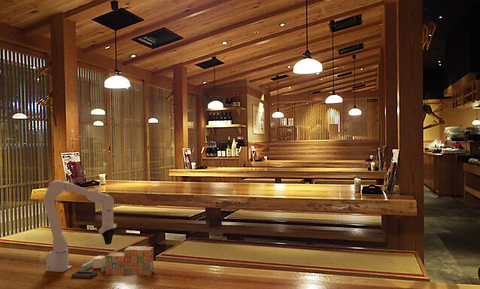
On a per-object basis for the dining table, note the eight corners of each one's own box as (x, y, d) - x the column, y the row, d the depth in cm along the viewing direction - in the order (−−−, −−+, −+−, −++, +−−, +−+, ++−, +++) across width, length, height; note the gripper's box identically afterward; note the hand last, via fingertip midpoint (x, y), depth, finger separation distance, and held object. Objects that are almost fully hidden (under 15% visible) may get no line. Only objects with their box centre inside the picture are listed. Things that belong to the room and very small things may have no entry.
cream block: (92, 268, 189) (92, 258, 189) (98, 265, 194) (98, 255, 194) (102, 269, 188) (101, 258, 188) (107, 265, 193) (107, 255, 193)
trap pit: (71, 277, 176) (71, 274, 176) (78, 273, 181) (78, 270, 181) (91, 278, 175) (91, 275, 175) (97, 274, 179) (97, 271, 179)
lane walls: (81, 270, 185) (81, 265, 185) (92, 264, 195) (92, 259, 195) (103, 272, 183) (103, 266, 183) (114, 265, 193) (114, 260, 193)
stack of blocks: (105, 275, 178) (104, 249, 178) (110, 271, 185) (110, 246, 185) (149, 276, 177) (149, 249, 177) (154, 271, 183) (153, 246, 183)
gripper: (107, 221, 191) (108, 248, 191) (121, 215, 205) (122, 240, 205) (94, 220, 192) (95, 247, 192) (109, 215, 207) (110, 240, 207)
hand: (108, 244), depth 199 cm, fingers closed
